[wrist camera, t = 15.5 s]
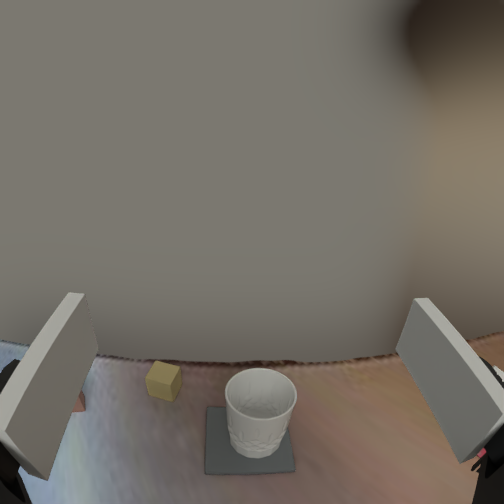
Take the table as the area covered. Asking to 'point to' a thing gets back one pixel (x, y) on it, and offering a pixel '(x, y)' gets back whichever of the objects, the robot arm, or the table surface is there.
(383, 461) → the table surface
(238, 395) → the white cup
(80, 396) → the brick-red long block
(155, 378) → the mustard block
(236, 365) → the table surface
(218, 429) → the slate coaster
